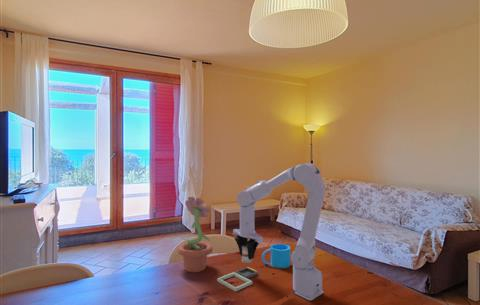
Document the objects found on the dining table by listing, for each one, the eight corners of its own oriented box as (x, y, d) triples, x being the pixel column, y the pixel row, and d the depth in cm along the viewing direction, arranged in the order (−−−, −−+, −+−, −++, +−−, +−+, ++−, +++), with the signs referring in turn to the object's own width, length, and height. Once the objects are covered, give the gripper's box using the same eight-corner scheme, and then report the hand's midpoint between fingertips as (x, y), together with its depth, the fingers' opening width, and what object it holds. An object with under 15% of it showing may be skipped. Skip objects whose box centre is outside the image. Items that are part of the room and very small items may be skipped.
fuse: (254, 261, 107) (254, 246, 107) (246, 263, 104) (246, 249, 104) (247, 258, 110) (247, 244, 110) (239, 260, 107) (239, 246, 107)
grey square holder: (257, 277, 107) (257, 271, 107) (246, 282, 103) (246, 275, 103) (247, 272, 111) (247, 266, 111) (235, 276, 107) (235, 270, 107)
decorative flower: (221, 267, 116) (221, 195, 116) (201, 281, 103) (202, 200, 103) (192, 260, 122) (192, 192, 122) (170, 272, 110) (171, 197, 110)
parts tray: (252, 286, 99) (252, 281, 99) (235, 294, 94) (235, 288, 94) (233, 277, 106) (233, 272, 106) (217, 283, 101) (217, 278, 101)
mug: (288, 262, 121) (288, 243, 121) (292, 270, 113) (292, 250, 113) (260, 262, 121) (260, 244, 121) (262, 270, 113) (263, 250, 113)
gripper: (268, 223, 104) (268, 259, 104) (241, 216, 115) (241, 249, 115) (254, 226, 100) (254, 264, 100) (228, 219, 110) (228, 253, 110)
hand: (247, 257), depth 107 cm, fingers closed on fuse, 4 cm apart
